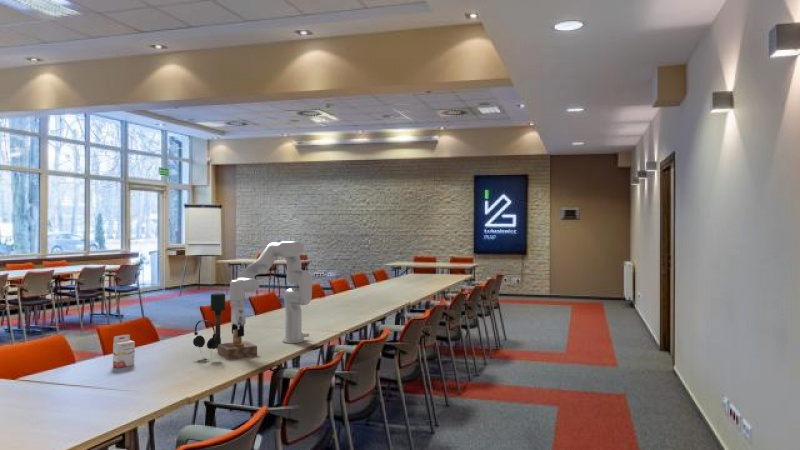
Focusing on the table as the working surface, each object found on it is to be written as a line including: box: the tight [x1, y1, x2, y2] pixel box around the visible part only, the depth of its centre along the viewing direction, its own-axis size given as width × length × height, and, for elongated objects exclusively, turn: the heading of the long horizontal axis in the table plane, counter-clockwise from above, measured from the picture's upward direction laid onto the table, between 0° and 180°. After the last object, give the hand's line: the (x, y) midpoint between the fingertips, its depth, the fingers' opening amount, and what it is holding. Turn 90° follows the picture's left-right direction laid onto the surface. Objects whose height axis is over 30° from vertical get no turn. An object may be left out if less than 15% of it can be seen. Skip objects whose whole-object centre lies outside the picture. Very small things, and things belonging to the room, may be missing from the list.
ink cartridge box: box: [112, 334, 136, 369], centre depth 279 cm, size 9×5×15 cm, turn 145°
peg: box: [230, 329, 244, 346], centre depth 304 cm, size 6×6×13 cm
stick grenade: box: [209, 292, 227, 349], centre depth 322 cm, size 8×9×30 cm
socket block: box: [217, 340, 258, 360], centre depth 304 cm, size 16×16×5 cm
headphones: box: [192, 319, 219, 364], centre depth 291 cm, size 15×11×20 cm
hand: (237, 334), depth 304 cm, fingers open, 9 cm apart
